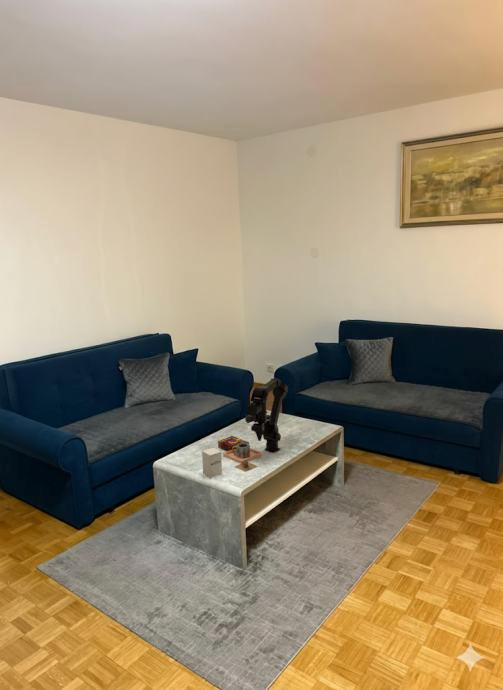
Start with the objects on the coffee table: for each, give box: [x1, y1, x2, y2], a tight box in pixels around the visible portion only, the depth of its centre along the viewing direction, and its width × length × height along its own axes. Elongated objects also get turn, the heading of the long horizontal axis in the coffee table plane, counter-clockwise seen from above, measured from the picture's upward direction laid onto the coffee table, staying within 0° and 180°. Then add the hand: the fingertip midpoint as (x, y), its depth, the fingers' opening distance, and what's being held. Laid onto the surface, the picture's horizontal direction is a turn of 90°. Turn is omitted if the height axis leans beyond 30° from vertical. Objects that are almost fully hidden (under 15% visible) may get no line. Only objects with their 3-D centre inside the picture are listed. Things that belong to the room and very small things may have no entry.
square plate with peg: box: [234, 460, 258, 473], centre depth 262 cm, size 9×9×4 cm
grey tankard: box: [234, 443, 251, 459], centre depth 276 cm, size 9×7×6 cm
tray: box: [222, 447, 263, 464], centre depth 276 cm, size 15×15×2 cm
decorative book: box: [217, 435, 250, 453], centre depth 288 cm, size 11×16×5 cm
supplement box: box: [201, 447, 223, 479], centre depth 255 cm, size 7×7×13 cm
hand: (261, 437), depth 271 cm, fingers open, 9 cm apart
